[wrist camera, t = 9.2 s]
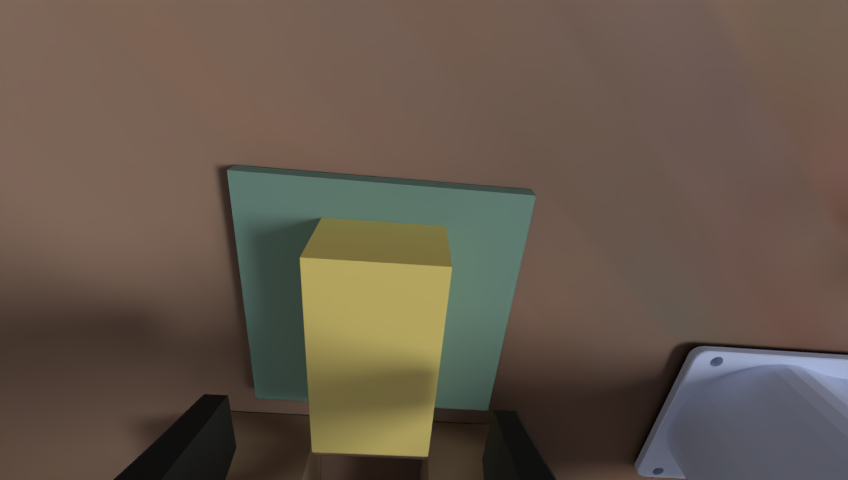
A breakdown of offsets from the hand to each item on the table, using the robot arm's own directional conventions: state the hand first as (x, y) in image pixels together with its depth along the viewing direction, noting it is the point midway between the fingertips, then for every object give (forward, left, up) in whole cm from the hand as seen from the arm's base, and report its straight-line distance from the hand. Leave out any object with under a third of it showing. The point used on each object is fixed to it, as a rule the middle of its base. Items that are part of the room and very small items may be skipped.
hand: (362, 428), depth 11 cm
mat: (0, 0, -5) cm, 5 cm away
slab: (0, 0, -5) cm, 5 cm away
